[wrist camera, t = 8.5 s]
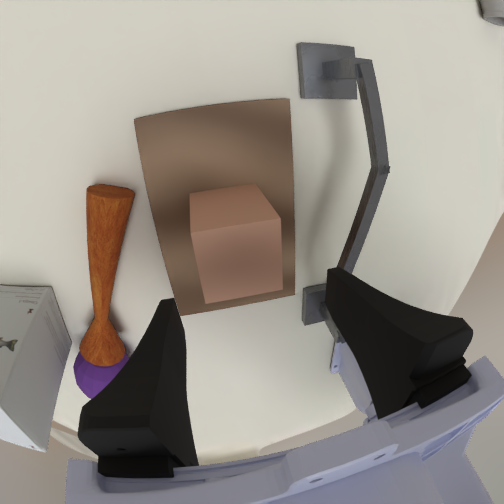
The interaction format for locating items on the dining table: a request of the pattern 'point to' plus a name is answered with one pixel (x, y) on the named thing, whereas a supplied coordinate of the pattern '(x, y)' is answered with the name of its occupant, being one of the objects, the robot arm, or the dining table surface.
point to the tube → (493, 11)
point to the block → (236, 242)
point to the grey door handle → (345, 87)
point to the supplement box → (30, 363)
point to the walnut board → (216, 181)
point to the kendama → (103, 286)
